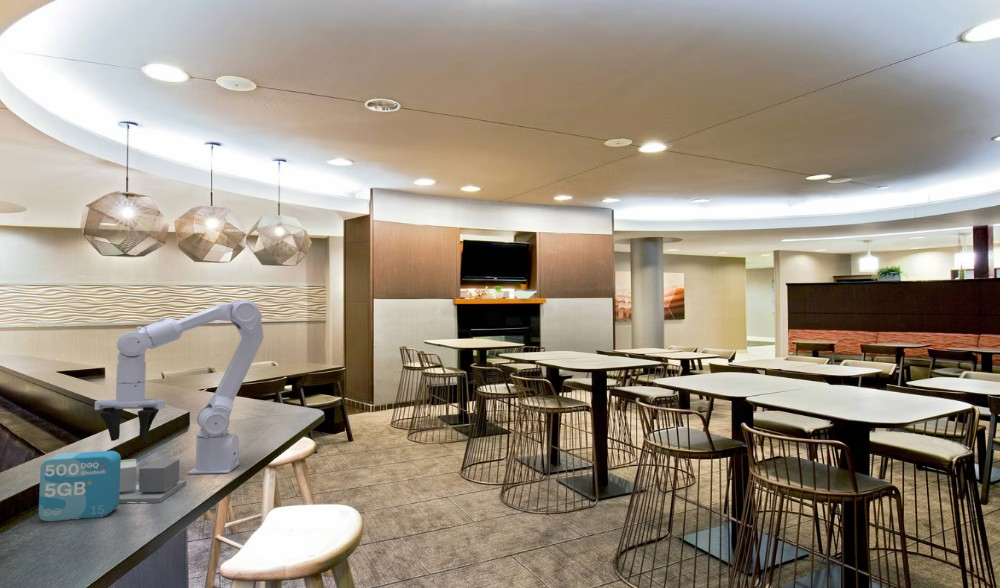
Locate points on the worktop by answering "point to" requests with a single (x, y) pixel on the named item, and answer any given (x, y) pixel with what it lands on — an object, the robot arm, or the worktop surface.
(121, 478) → the module
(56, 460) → the data package
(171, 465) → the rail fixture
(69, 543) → the worktop surface
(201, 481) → the worktop surface
